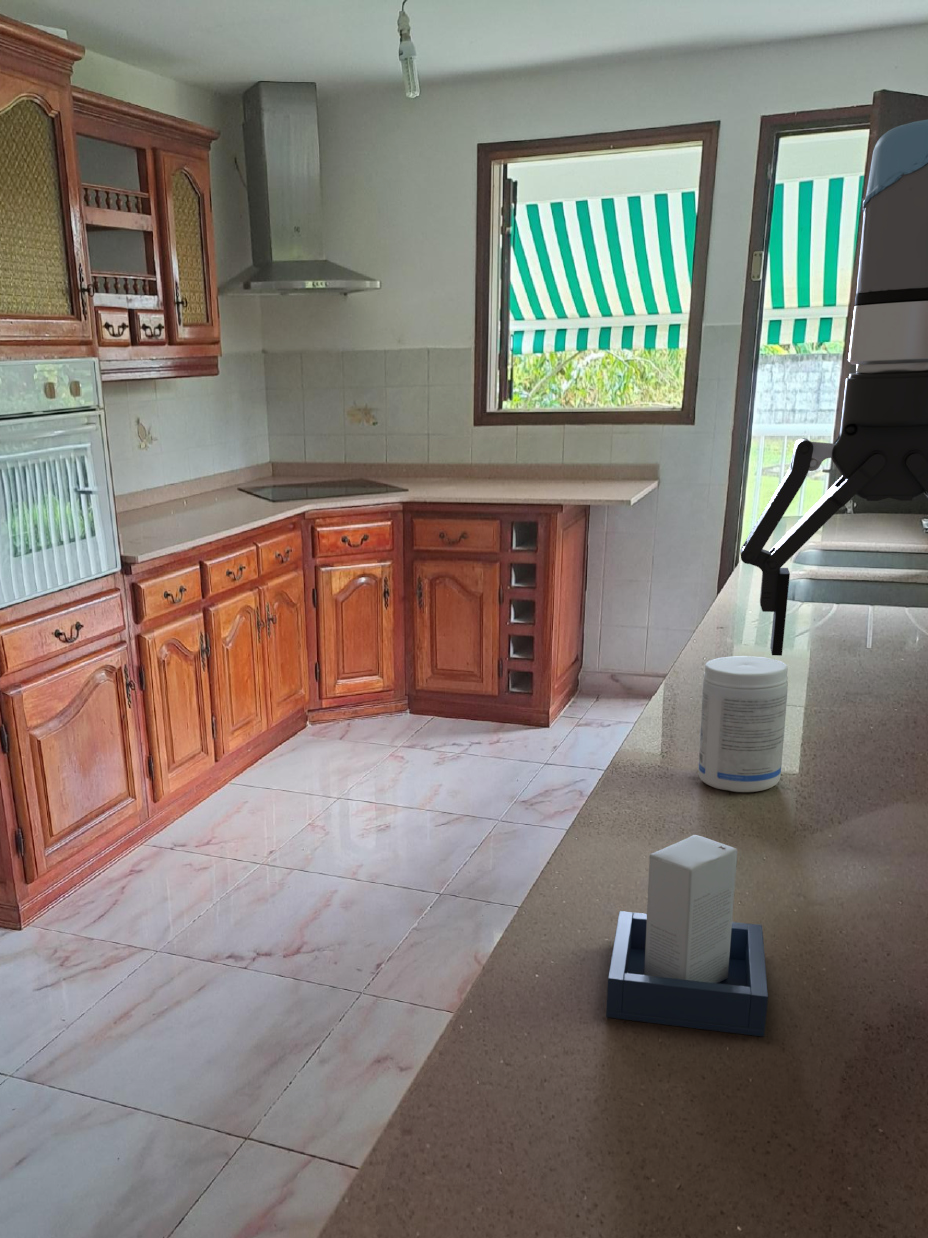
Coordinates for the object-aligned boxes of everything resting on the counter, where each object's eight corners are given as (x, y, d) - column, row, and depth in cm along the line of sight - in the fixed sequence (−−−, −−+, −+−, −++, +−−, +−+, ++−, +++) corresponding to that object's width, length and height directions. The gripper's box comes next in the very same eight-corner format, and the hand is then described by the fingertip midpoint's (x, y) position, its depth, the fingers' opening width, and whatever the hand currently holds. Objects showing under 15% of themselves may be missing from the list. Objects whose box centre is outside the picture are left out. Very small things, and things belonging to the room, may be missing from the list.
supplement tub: (796, 782, 135) (808, 665, 130) (745, 801, 130) (756, 679, 125) (730, 762, 143) (739, 650, 138) (679, 779, 138) (687, 664, 133)
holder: (758, 961, 96) (762, 924, 95) (763, 1037, 86) (768, 996, 84) (617, 946, 100) (619, 910, 99) (606, 1017, 89) (607, 978, 88)
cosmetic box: (686, 960, 96) (695, 832, 92) (728, 979, 93) (740, 848, 88) (640, 984, 93) (647, 852, 88) (682, 1005, 89) (692, 869, 85)
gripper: (1086, 359, 80) (1035, 647, 88) (721, 374, 87) (702, 638, 95) (1120, 360, 73) (1061, 671, 81) (722, 376, 81) (701, 660, 88)
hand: (867, 654), depth 88 cm, fingers open, 13 cm apart
